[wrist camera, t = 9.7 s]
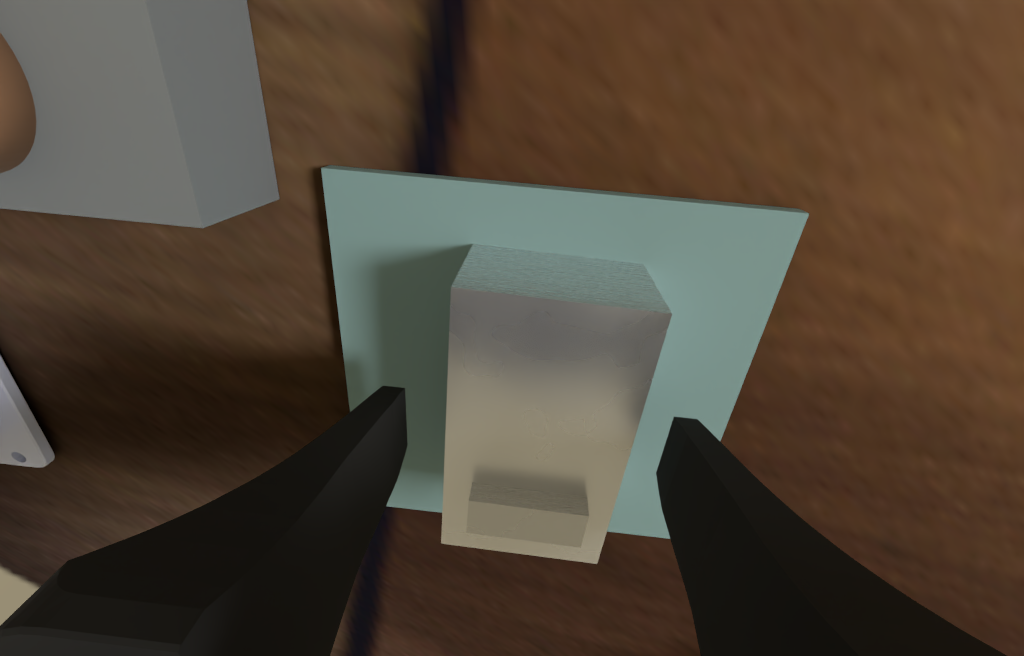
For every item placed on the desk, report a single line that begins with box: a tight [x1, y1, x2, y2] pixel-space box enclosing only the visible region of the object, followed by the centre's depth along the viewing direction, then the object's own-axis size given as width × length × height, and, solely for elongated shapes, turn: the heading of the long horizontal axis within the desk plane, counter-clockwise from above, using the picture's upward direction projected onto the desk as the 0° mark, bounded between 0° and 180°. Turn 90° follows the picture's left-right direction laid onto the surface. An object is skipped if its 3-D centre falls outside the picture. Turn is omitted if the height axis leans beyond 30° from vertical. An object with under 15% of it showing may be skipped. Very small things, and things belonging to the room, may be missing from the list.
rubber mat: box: [321, 165, 809, 539], centre depth 14 cm, size 12×12×1 cm
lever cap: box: [441, 244, 672, 564], centre depth 12 cm, size 4×8×4 cm, turn 174°
